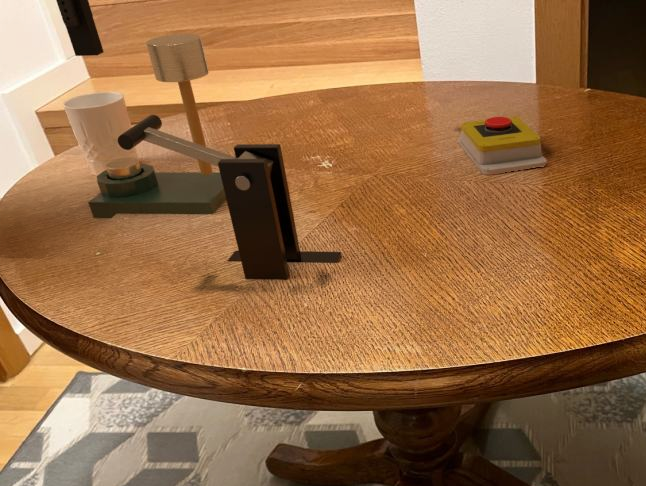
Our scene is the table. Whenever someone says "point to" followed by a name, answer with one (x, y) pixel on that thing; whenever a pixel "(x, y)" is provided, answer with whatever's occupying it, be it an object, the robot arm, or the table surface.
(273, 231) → the brown bracket stand
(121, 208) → the lamp base
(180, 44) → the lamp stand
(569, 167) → the table surface
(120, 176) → the lamp button
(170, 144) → the lever
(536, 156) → the emergency button
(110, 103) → the white cup
